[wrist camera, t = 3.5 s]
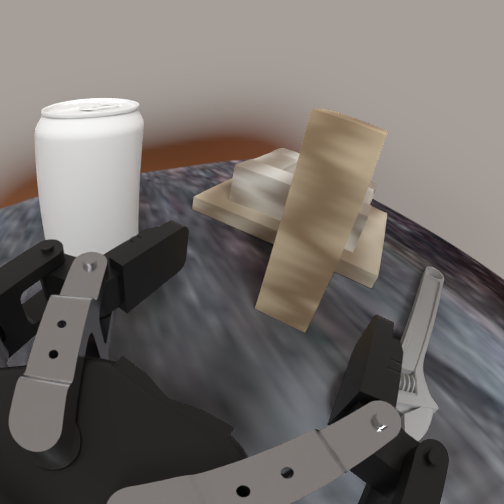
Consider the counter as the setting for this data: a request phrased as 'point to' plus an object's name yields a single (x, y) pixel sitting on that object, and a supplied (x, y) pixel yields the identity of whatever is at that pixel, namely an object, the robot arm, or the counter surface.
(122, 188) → the beverage can
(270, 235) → the wooden socket base
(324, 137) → the tan long rectangular block
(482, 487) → the counter surface
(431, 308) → the adjustable wrench
